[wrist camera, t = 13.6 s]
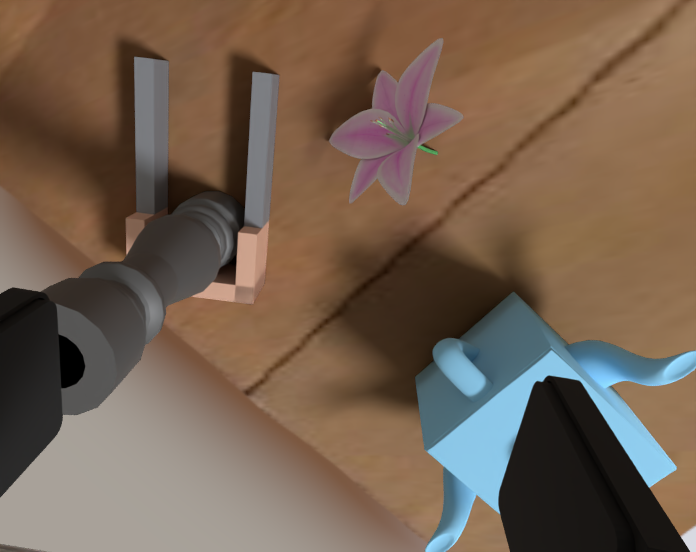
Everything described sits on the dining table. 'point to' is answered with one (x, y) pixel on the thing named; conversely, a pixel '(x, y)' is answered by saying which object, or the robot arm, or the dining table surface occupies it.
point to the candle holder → (138, 295)
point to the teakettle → (521, 402)
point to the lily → (395, 128)
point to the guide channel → (153, 176)
